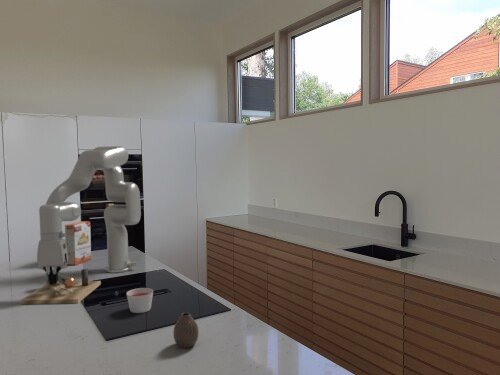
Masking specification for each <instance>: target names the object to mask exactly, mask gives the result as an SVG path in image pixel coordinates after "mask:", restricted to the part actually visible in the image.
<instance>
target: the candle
mask: <svg viewBox="0 0 500 375" xmlns="http://www.w3.org/2000/svg"><path fill="white" fill-rule="evenodd" d="M153 297H154V289H152V288H148V287H139V288H134V289H130V290H128V291H126V298H127V302H128V306H129V311H130V312H131V313H134V314H142V313H146V312H147V313H148V312H149V311H150V310H151V308H152V303H153V302H152V301H153Z"/></svg>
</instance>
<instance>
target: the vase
mask: <svg viewBox="0 0 500 375" xmlns="http://www.w3.org/2000/svg"><path fill="white" fill-rule="evenodd" d="M172 333H173V339H174V342H175V344H176V346H178V347H180V348H182V349H189V348H191V347H193V346H194V345H195V344H196V343H197V341H198V338H199V325H198V323H197V321H196V320H195V319H194V318H193V317H192V315H191V314H190V312H183V313H181V314H180V317H179V319H178V320H177V321H176V322H175V325H174V328H173V332H172Z"/></svg>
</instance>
